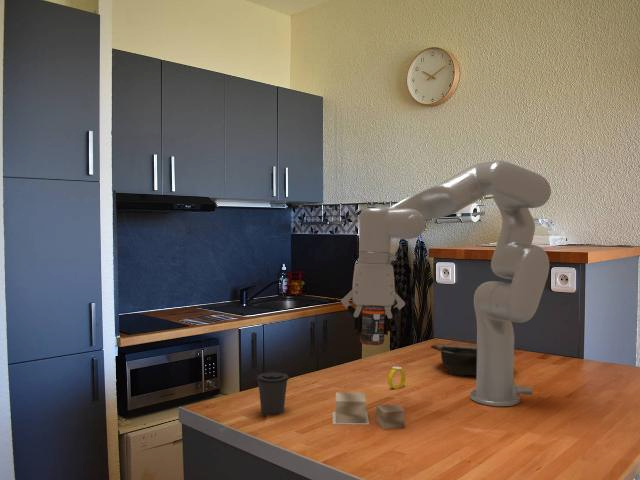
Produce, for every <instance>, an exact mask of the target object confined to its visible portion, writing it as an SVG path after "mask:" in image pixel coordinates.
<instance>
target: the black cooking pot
mask: <svg viewBox="0 0 640 480" xmlns="http://www.w3.org/2000/svg"><path fill="white" fill-rule="evenodd" d="M430 348H431V349H433V350H435V351H439V352H440V354H441V355H440V357H441V362H442V363H443V365H444V366H445V367H447V368H448V373H449V374H450V375H453V376H458V377H459V376H460V377H461V376H464V377H465V376H476V369H477V346H474V345H469V346H468V345H467V346H465V345H453V344H452V345H451V344H450V345H446V344H444V345H443V344H441V345H435V344H434V345H431V346H430Z"/></svg>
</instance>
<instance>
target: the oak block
mask: <svg viewBox="0 0 640 480" xmlns="http://www.w3.org/2000/svg"><path fill="white" fill-rule="evenodd" d="M375 412H376V424H377V425H378V426H379V427H380V428H381V429H382V430H383V431H387V430H388V431H389V430H399V429H400V430H402V429H405V428H406V427H405V425H406V424H405V423H406V421H405V420H406V419H405V418H406V411H405V410H404V408H402V407H401V406H400V405H398V404H397V403H390V404H379V405H376V411H375Z"/></svg>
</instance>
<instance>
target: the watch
mask: <svg viewBox="0 0 640 480" xmlns="http://www.w3.org/2000/svg"><path fill="white" fill-rule="evenodd" d="M396 372H400V375H401V376H400V377H401V378H400V382H399V384H397V385H395V386H394V384H393V377H394V375H395V373H396ZM387 382H388V383H387V384H388V386H389V387H390V388H391V389H393V390H397V389H401V388H403V387H404V385H405V382H406V372H405V371H404V369H403V368H402V367H401V366H392V367H391V370H390V372H389V374H388V376H387Z"/></svg>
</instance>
